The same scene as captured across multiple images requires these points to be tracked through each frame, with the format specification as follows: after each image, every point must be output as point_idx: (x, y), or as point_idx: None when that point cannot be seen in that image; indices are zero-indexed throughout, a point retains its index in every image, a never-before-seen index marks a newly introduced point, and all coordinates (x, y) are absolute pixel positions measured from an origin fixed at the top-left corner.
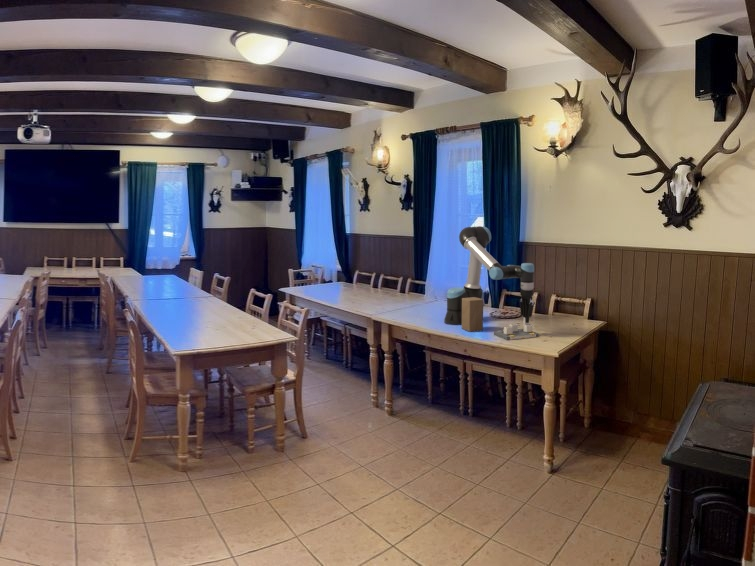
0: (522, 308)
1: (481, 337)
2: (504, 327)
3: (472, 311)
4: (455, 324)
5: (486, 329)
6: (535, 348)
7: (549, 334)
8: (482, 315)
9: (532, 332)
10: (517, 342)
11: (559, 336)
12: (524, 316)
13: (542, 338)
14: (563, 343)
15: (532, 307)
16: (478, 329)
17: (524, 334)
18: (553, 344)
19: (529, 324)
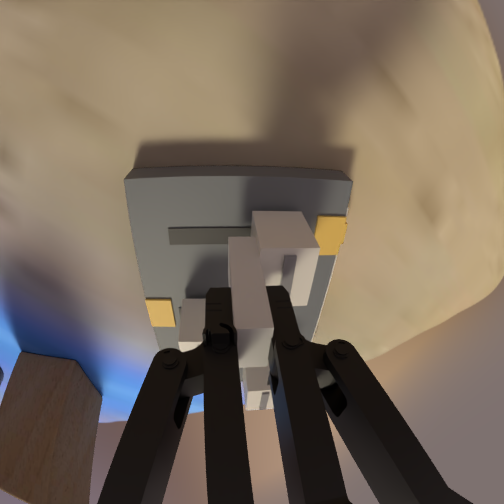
0: (166, 463)
1: (200, 403)
2: (252, 407)
3: (85, 473)
4: (2, 374)
5: (53, 338)
6: (447, 317)
7: (328, 30)
8: (61, 431)
9: (299, 205)
10: (352, 341)
11: (412, 27)
12: (268, 382)
13: (390, 180)
14: (500, 163)
15: (424, 470)
16: (85, 380)
17: (314, 292)
18: (480, 220)
19: (289, 268)
